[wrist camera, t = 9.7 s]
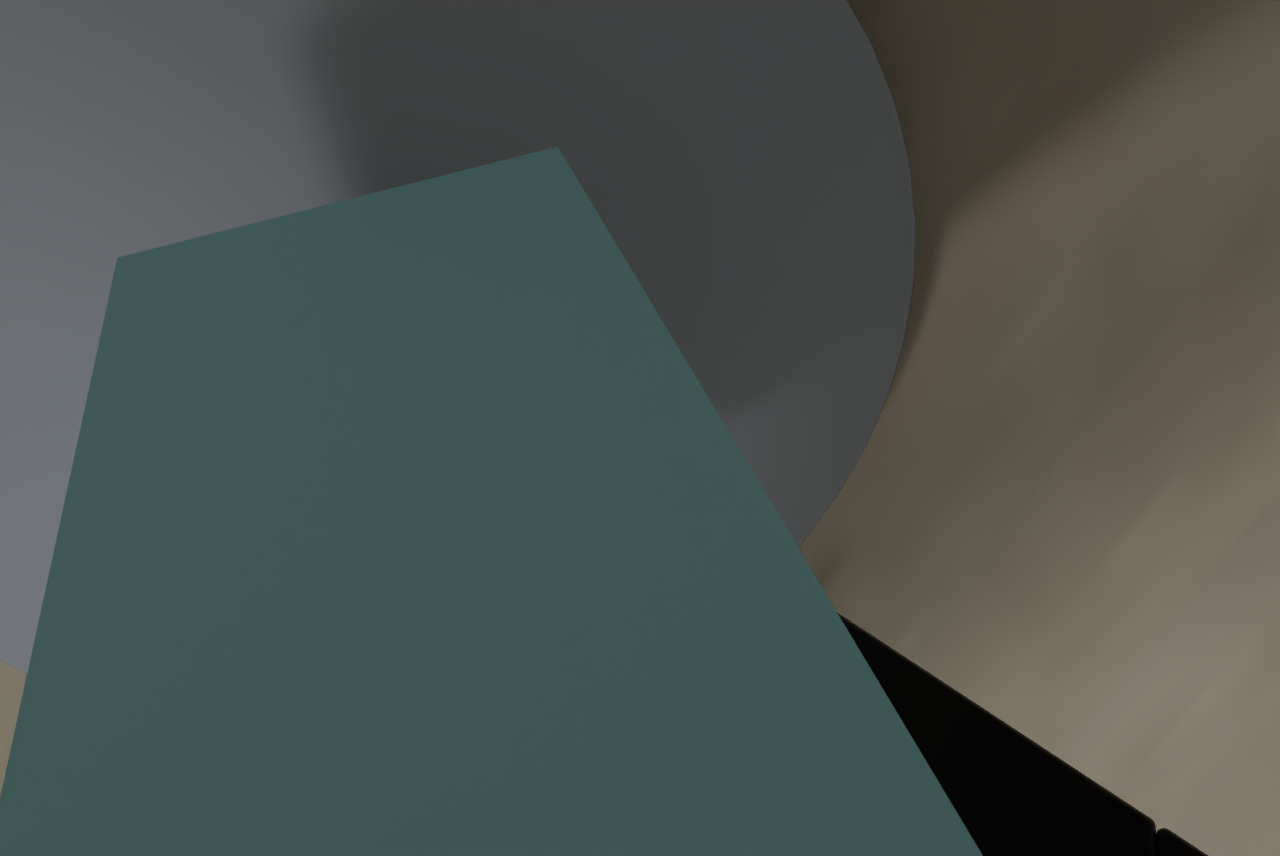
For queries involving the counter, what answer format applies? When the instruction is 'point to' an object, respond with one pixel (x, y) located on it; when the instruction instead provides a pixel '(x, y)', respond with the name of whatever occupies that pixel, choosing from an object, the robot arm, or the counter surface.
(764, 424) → the coaster
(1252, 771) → the counter surface
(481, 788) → the plug
